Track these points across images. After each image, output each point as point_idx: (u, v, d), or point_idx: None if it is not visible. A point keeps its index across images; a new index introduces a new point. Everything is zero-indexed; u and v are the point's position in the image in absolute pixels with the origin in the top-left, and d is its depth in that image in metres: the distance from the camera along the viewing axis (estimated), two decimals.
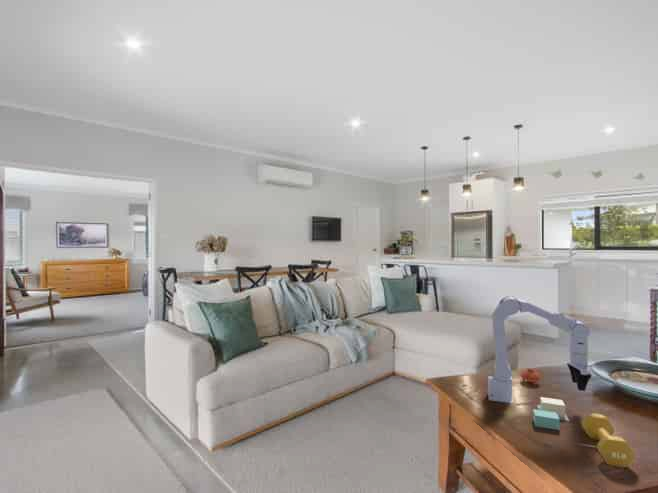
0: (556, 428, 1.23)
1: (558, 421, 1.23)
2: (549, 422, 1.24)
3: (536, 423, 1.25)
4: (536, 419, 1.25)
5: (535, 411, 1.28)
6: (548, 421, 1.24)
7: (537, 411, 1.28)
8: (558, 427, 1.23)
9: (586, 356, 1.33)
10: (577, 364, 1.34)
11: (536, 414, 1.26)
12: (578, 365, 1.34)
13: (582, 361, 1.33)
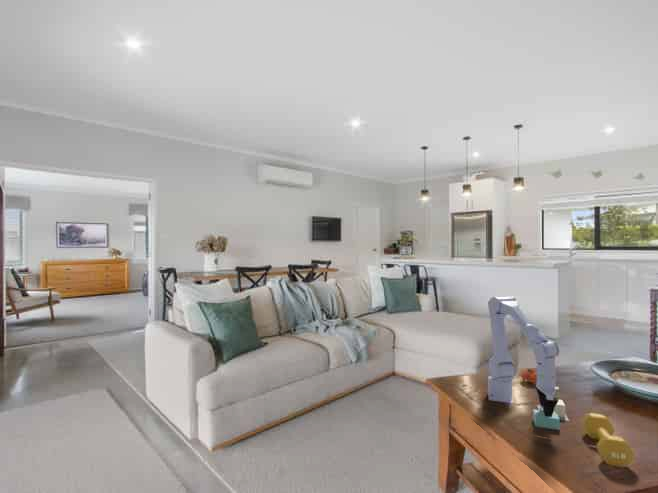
0: (556, 428, 1.23)
1: (558, 421, 1.23)
2: (549, 422, 1.24)
3: (536, 423, 1.25)
4: (536, 419, 1.25)
5: (535, 411, 1.28)
6: (548, 421, 1.24)
7: (537, 411, 1.28)
8: (558, 427, 1.23)
9: (553, 379, 1.23)
10: (544, 388, 1.24)
11: (536, 414, 1.26)
12: (545, 389, 1.24)
13: (549, 384, 1.23)
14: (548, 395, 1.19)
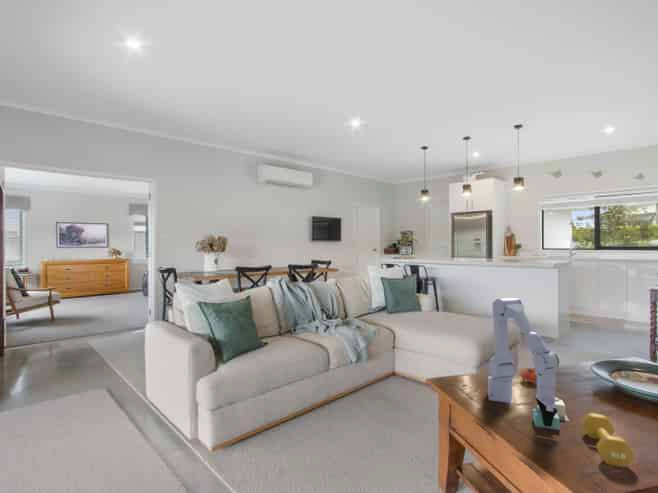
0: (556, 427, 1.23)
1: (558, 420, 1.23)
2: None
3: (536, 423, 1.25)
4: (536, 419, 1.25)
5: (535, 411, 1.28)
6: None
7: (537, 411, 1.28)
8: (558, 426, 1.23)
9: (553, 390, 1.24)
10: (543, 398, 1.24)
11: (536, 414, 1.26)
12: (544, 400, 1.24)
13: (549, 395, 1.23)
14: (548, 406, 1.20)
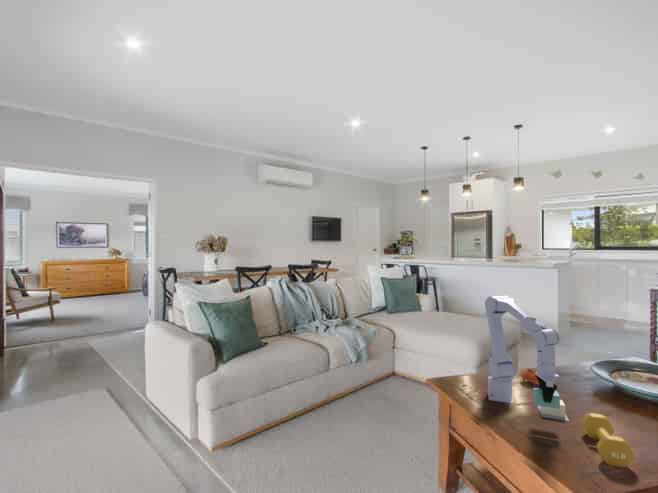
0: (556, 405, 1.23)
1: (558, 398, 1.23)
2: None
3: (536, 401, 1.25)
4: (536, 397, 1.25)
5: (535, 389, 1.28)
6: None
7: (537, 389, 1.28)
8: (558, 404, 1.23)
9: (553, 366, 1.23)
10: (543, 375, 1.24)
11: (536, 392, 1.26)
12: (544, 376, 1.24)
13: (549, 372, 1.23)
14: (548, 382, 1.20)
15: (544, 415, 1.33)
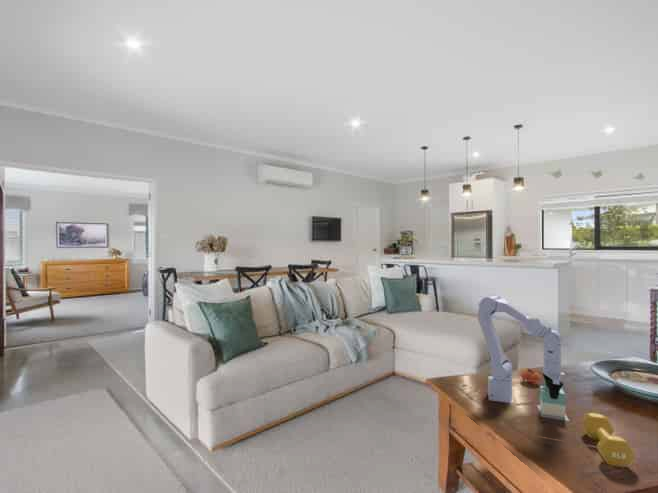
0: (562, 402, 1.31)
1: (564, 396, 1.31)
2: None
3: (543, 398, 1.34)
4: (543, 394, 1.34)
5: (542, 387, 1.37)
6: None
7: (544, 387, 1.37)
8: (564, 401, 1.31)
9: (559, 365, 1.32)
10: (550, 373, 1.32)
11: (543, 390, 1.34)
12: (551, 374, 1.32)
13: (555, 370, 1.32)
14: (555, 380, 1.28)
15: (544, 415, 1.33)
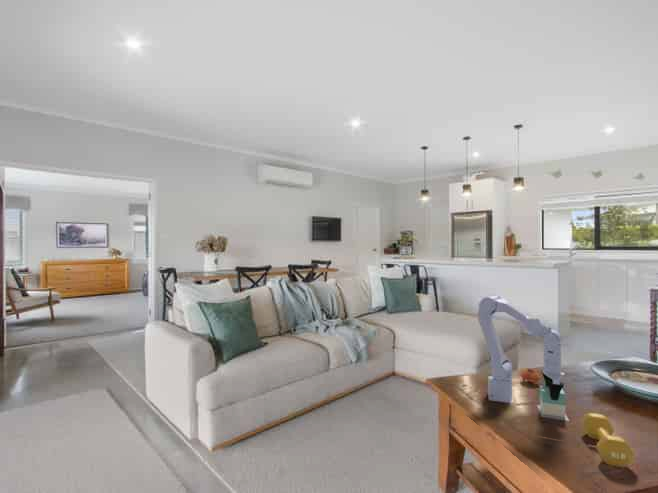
0: (562, 402, 1.31)
1: (564, 396, 1.31)
2: None
3: (543, 398, 1.34)
4: (543, 394, 1.34)
5: (542, 387, 1.37)
6: None
7: (544, 387, 1.37)
8: (564, 401, 1.31)
9: (559, 365, 1.32)
10: (550, 373, 1.32)
11: (543, 390, 1.35)
12: (551, 374, 1.32)
13: (555, 370, 1.32)
14: (554, 380, 1.28)
15: (544, 415, 1.33)
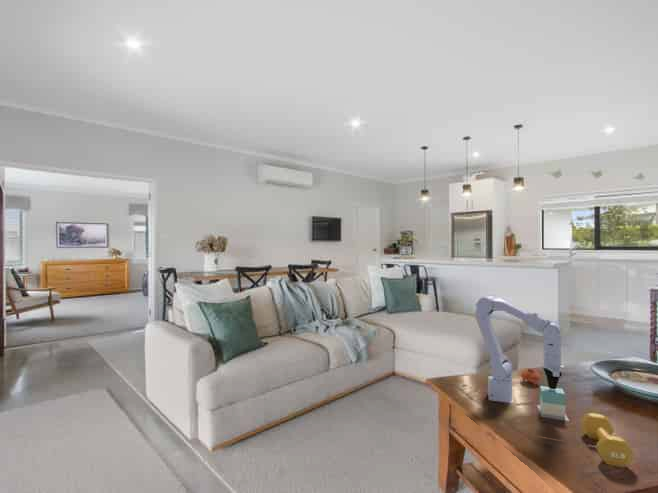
0: (562, 402, 1.31)
1: (564, 396, 1.31)
2: (555, 397, 1.32)
3: (543, 398, 1.34)
4: (543, 394, 1.34)
5: (542, 387, 1.37)
6: (554, 396, 1.32)
7: (544, 387, 1.37)
8: (564, 401, 1.31)
9: (559, 358, 1.32)
10: (550, 366, 1.32)
11: (543, 390, 1.35)
12: (551, 367, 1.32)
13: (555, 363, 1.32)
14: (554, 372, 1.28)
15: (544, 415, 1.33)
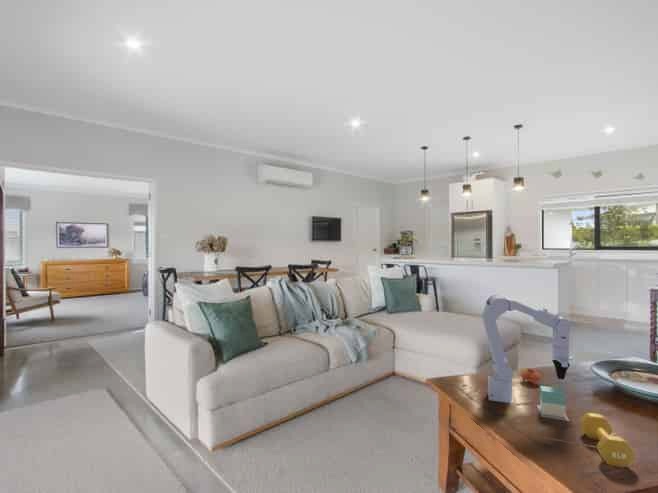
0: (562, 402, 1.31)
1: (564, 396, 1.31)
2: (555, 397, 1.32)
3: (543, 398, 1.34)
4: (543, 394, 1.34)
5: (542, 387, 1.37)
6: (554, 396, 1.32)
7: (544, 387, 1.37)
8: (564, 401, 1.31)
9: (567, 350, 1.40)
10: (559, 357, 1.41)
11: (543, 390, 1.35)
12: (560, 358, 1.40)
13: (564, 354, 1.40)
14: (563, 363, 1.36)
15: (544, 415, 1.33)
